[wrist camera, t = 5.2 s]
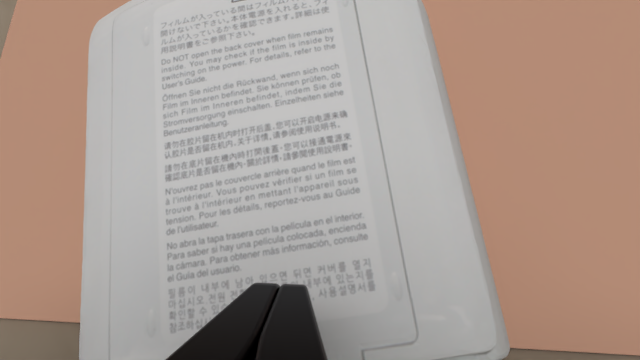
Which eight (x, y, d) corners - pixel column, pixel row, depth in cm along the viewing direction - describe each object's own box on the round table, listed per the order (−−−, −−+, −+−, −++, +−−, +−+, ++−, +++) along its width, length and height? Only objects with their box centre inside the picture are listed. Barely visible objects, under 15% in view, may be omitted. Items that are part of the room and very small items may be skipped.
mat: (809, 365, 13) (826, 366, 13) (-62, 314, 17) (-74, 313, 16) (684, -178, 20) (692, -191, 19) (67, -139, 23) (60, -149, 22)
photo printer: (496, 354, 14) (405, -7, 18) (542, 357, 10) (411, -111, 14) (139, 409, 14) (132, 50, 19) (43, 432, 10) (61, -33, 15)
